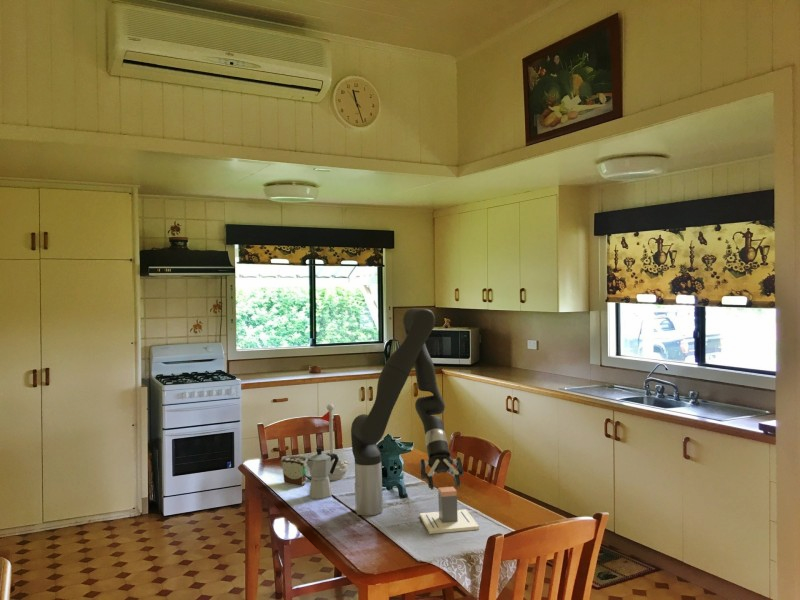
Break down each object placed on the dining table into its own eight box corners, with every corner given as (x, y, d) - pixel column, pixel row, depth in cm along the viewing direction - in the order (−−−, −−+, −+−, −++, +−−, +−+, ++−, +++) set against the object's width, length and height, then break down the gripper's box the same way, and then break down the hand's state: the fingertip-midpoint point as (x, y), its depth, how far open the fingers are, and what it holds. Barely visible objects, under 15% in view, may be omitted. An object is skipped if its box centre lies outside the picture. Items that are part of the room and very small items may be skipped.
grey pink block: (442, 522, 216) (441, 492, 215) (439, 517, 220) (438, 487, 220) (457, 521, 216) (456, 490, 216) (453, 516, 221) (452, 486, 221)
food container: (315, 482, 266) (314, 457, 266) (305, 487, 261) (304, 461, 261) (291, 478, 273) (290, 454, 273) (281, 482, 268) (280, 457, 267)
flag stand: (335, 470, 283) (332, 399, 282) (355, 475, 274) (352, 403, 273) (310, 477, 274) (307, 404, 273) (330, 483, 265) (327, 408, 264)
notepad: (429, 533, 209) (429, 530, 209) (419, 516, 225) (419, 513, 225) (479, 529, 212) (478, 526, 212) (465, 512, 228) (465, 509, 228)
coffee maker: (313, 502, 242) (311, 453, 242) (299, 497, 249) (298, 449, 248) (346, 492, 252) (344, 445, 252) (332, 487, 259) (330, 441, 258)
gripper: (418, 440, 228) (425, 483, 217) (458, 438, 230) (467, 480, 219) (415, 452, 233) (422, 494, 222) (455, 449, 236) (464, 491, 224)
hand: (445, 487), depth 221 cm, fingers open, 8 cm apart
